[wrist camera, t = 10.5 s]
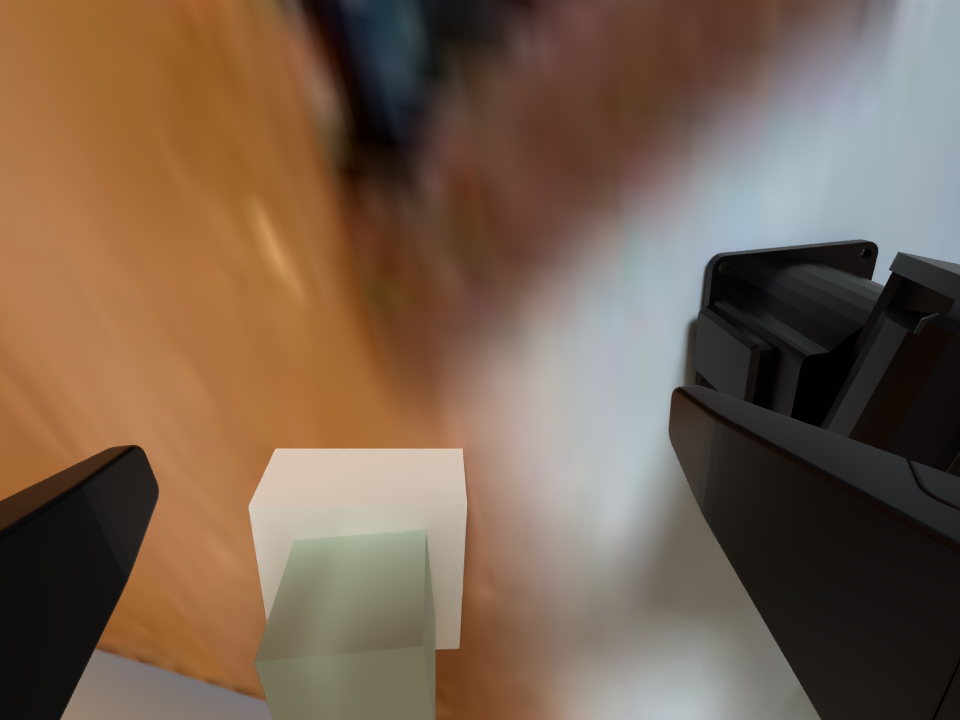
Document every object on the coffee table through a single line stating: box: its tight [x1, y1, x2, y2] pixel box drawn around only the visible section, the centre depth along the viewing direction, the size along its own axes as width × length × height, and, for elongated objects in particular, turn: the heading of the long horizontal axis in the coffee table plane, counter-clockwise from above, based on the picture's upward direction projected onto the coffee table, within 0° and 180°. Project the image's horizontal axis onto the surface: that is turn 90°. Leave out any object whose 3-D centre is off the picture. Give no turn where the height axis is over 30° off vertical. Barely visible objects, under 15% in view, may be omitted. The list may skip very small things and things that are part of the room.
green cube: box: [254, 529, 436, 720], centre depth 19 cm, size 5×5×5 cm
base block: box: [249, 449, 467, 650], centre depth 23 cm, size 8×8×4 cm
